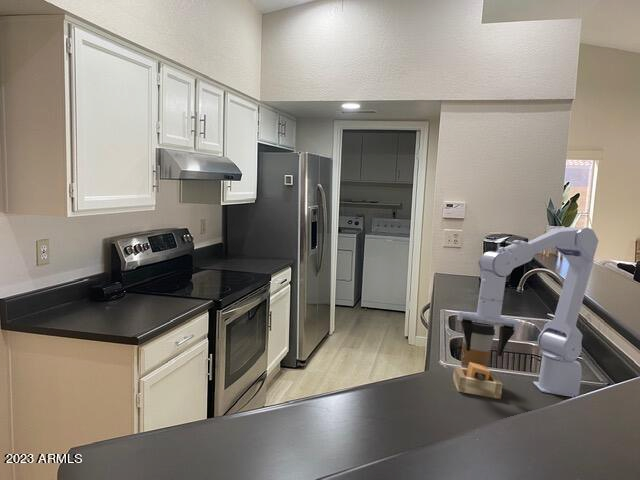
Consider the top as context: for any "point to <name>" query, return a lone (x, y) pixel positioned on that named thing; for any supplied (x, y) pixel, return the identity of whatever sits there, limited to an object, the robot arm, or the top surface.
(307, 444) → the top surface
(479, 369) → the orange u-channel
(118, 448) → the top surface
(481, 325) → the coffee cup
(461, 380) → the shelf block
